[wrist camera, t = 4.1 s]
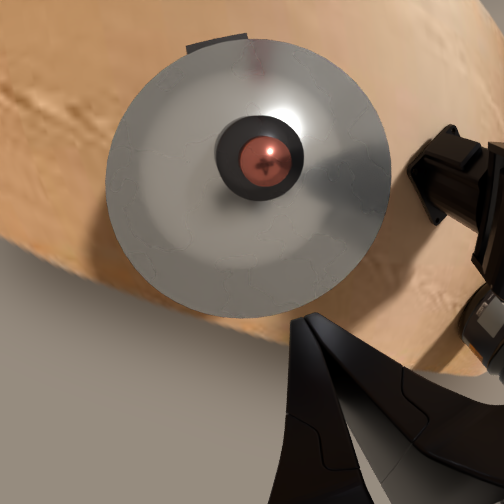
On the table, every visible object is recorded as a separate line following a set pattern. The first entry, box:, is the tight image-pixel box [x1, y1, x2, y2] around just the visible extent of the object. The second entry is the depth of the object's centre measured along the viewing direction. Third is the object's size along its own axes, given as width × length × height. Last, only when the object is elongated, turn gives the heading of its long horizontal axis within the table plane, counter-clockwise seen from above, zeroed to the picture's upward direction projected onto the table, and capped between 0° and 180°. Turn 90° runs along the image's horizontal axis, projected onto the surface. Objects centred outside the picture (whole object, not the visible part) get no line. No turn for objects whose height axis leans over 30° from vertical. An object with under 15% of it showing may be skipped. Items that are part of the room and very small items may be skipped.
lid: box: [105, 39, 391, 318], centre depth 10 cm, size 11×11×3 cm
